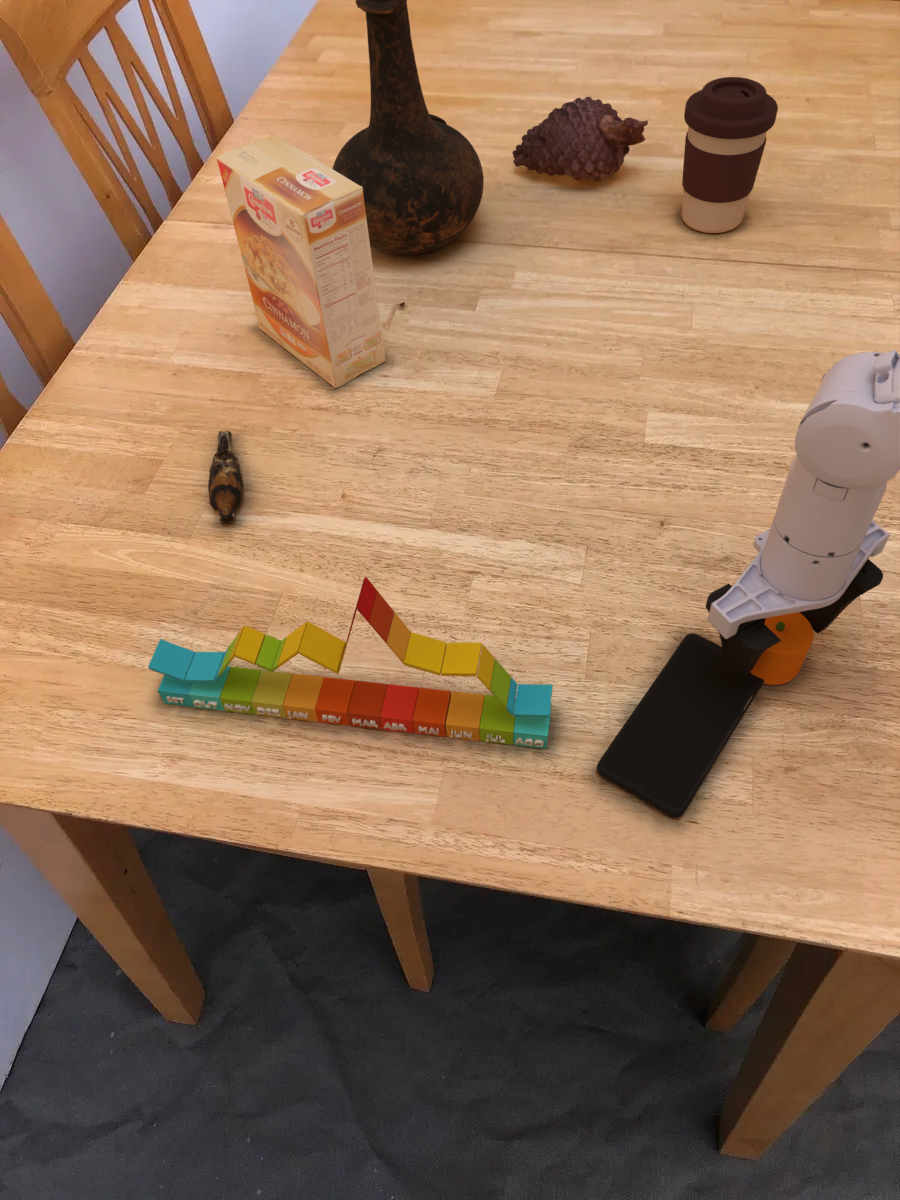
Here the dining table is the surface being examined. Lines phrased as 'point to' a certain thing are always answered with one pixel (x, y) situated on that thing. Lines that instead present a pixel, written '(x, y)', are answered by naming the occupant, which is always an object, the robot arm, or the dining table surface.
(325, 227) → the coffeecake box
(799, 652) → the mandarin
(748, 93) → the coffee cup
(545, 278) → the dining table surface
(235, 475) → the bird model
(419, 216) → the dark brown vase
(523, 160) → the pine cone
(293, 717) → the chart
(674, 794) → the smartphone
